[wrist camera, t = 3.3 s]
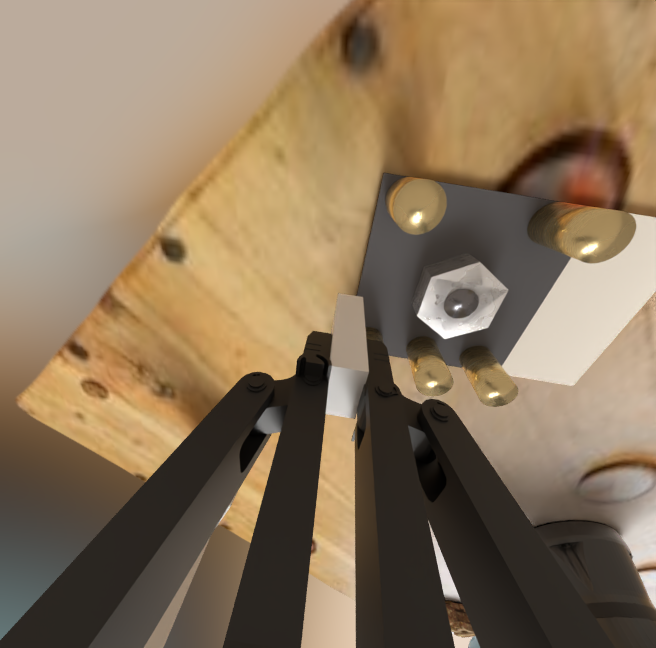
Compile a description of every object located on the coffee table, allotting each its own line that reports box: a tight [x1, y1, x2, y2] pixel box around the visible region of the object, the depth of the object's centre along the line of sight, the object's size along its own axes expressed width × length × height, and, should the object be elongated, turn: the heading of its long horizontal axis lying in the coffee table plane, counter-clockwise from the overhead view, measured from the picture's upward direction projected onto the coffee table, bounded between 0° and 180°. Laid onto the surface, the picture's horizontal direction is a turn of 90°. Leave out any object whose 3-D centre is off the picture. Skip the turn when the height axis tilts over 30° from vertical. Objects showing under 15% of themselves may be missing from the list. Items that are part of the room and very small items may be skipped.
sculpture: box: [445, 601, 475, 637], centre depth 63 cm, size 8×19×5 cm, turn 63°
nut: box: [412, 253, 508, 339], centre depth 22 cm, size 7×6×3 cm
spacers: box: [365, 177, 636, 407], centre depth 21 cm, size 14×16×5 cm
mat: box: [357, 173, 656, 386], centre depth 23 cm, size 24×16×1 cm, turn 82°
